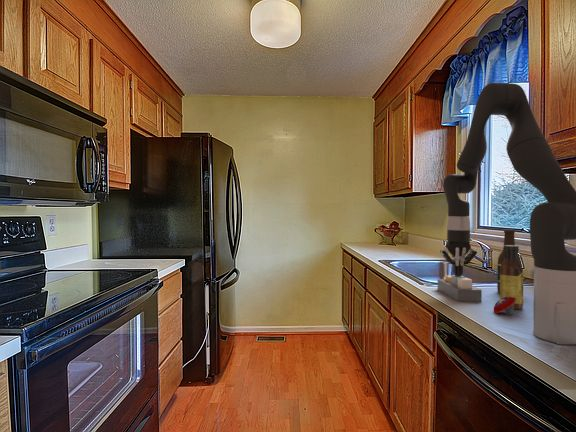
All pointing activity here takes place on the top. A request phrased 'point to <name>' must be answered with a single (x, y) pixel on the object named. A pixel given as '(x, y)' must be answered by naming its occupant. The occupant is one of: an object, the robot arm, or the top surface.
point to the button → (505, 305)
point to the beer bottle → (507, 241)
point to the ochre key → (448, 278)
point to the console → (459, 291)
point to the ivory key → (464, 283)
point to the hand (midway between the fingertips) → (458, 275)
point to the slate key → (455, 279)
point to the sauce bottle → (511, 276)
